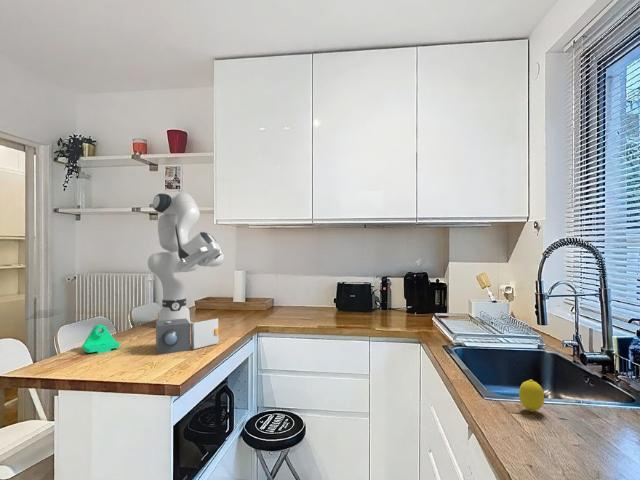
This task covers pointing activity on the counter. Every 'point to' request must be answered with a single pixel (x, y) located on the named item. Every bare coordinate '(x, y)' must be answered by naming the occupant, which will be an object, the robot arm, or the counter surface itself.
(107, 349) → the camera mount
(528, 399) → the lemon
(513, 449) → the counter surface
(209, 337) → the side door
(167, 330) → the camera housing
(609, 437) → the counter surface
